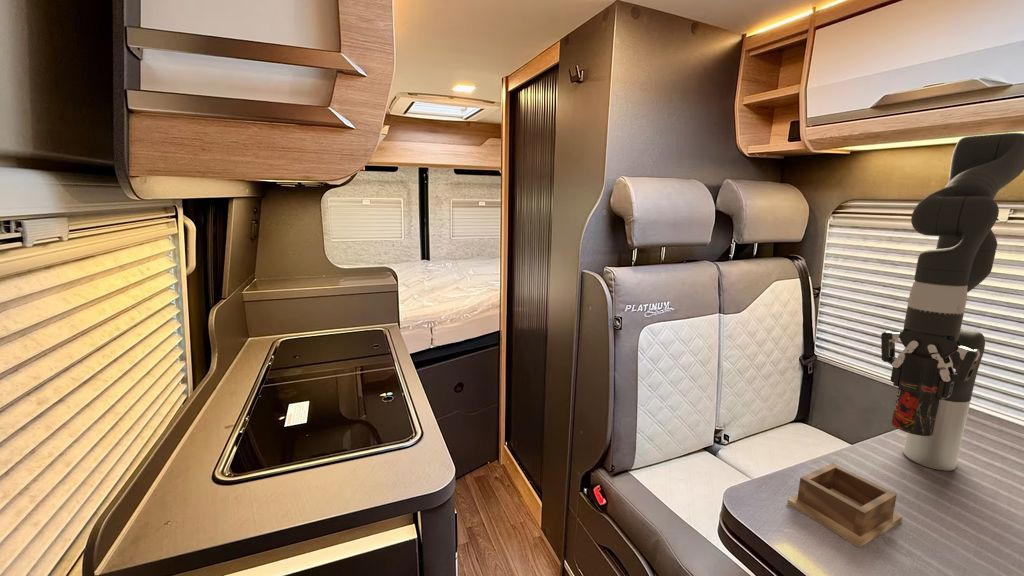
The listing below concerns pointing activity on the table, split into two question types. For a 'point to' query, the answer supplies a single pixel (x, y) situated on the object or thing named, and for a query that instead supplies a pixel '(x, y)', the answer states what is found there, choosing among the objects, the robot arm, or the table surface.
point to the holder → (846, 504)
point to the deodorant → (917, 395)
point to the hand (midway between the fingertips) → (918, 391)
